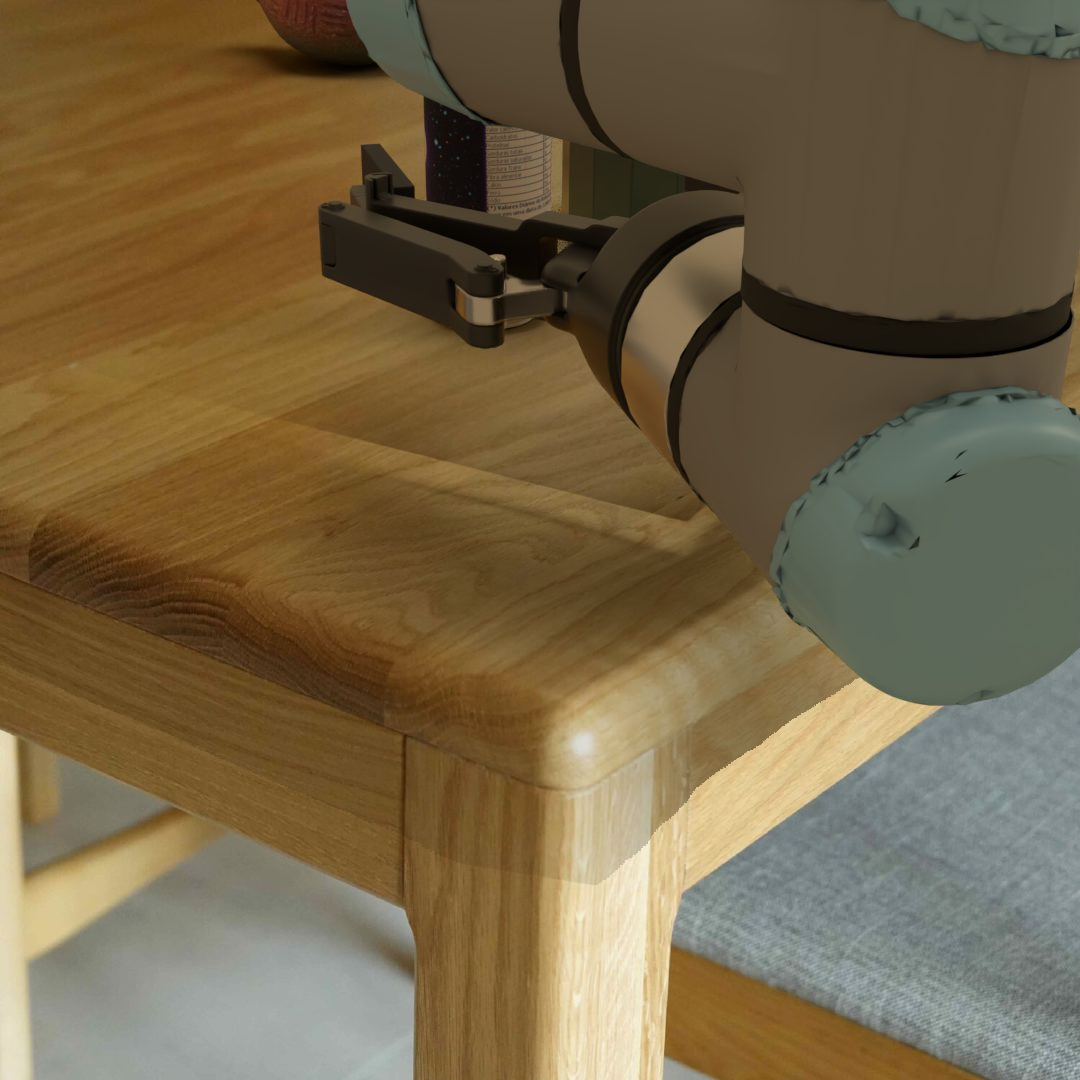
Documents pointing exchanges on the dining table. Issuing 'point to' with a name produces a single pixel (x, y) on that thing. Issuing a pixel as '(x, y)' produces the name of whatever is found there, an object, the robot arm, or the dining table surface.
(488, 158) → the beverage can
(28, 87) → the dining table surface
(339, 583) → the dining table surface
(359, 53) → the bowl
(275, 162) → the dining table surface
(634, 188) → the pot
